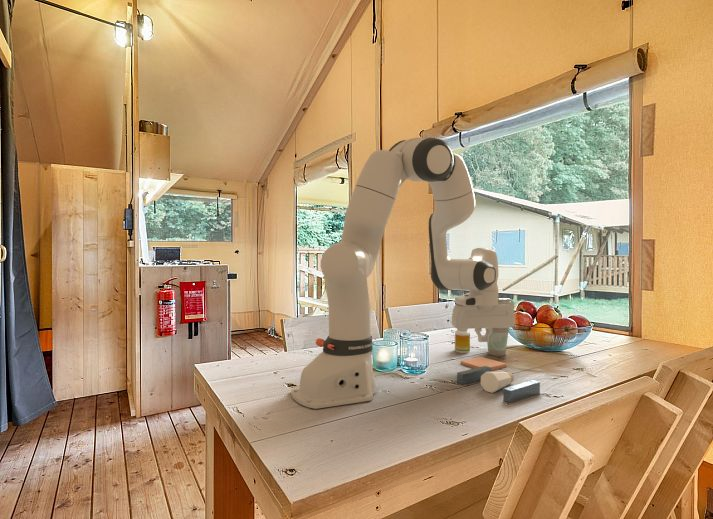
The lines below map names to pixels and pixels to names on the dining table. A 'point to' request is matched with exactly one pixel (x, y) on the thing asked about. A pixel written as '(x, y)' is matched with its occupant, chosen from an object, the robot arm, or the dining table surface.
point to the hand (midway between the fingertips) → (483, 341)
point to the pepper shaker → (496, 380)
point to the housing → (509, 393)
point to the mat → (483, 363)
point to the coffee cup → (498, 341)
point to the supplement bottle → (462, 341)
